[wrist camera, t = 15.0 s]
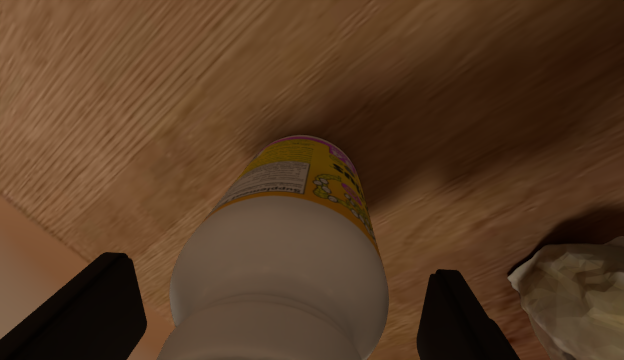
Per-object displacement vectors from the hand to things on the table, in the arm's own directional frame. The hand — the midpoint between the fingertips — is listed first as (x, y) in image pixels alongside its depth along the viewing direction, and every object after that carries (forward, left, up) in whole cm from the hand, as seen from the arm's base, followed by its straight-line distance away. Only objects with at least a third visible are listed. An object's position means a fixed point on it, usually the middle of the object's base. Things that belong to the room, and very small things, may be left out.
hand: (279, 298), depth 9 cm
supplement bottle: (0, 0, -9) cm, 9 cm away
